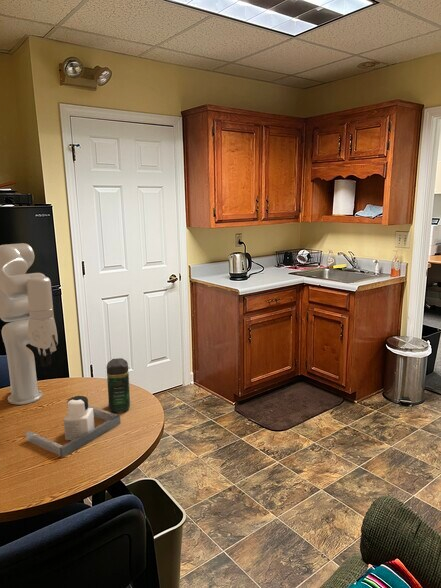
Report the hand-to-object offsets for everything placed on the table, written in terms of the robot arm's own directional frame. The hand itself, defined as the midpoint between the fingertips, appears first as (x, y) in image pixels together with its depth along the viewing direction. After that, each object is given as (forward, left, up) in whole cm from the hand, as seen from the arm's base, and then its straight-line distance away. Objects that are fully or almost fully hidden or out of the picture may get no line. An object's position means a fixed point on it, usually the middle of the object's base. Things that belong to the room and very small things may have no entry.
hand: (46, 364), depth 153 cm
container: (+15, 0, -22) cm, 26 cm away
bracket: (+13, 0, -22) cm, 25 cm away
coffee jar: (+12, +21, -22) cm, 33 cm away
